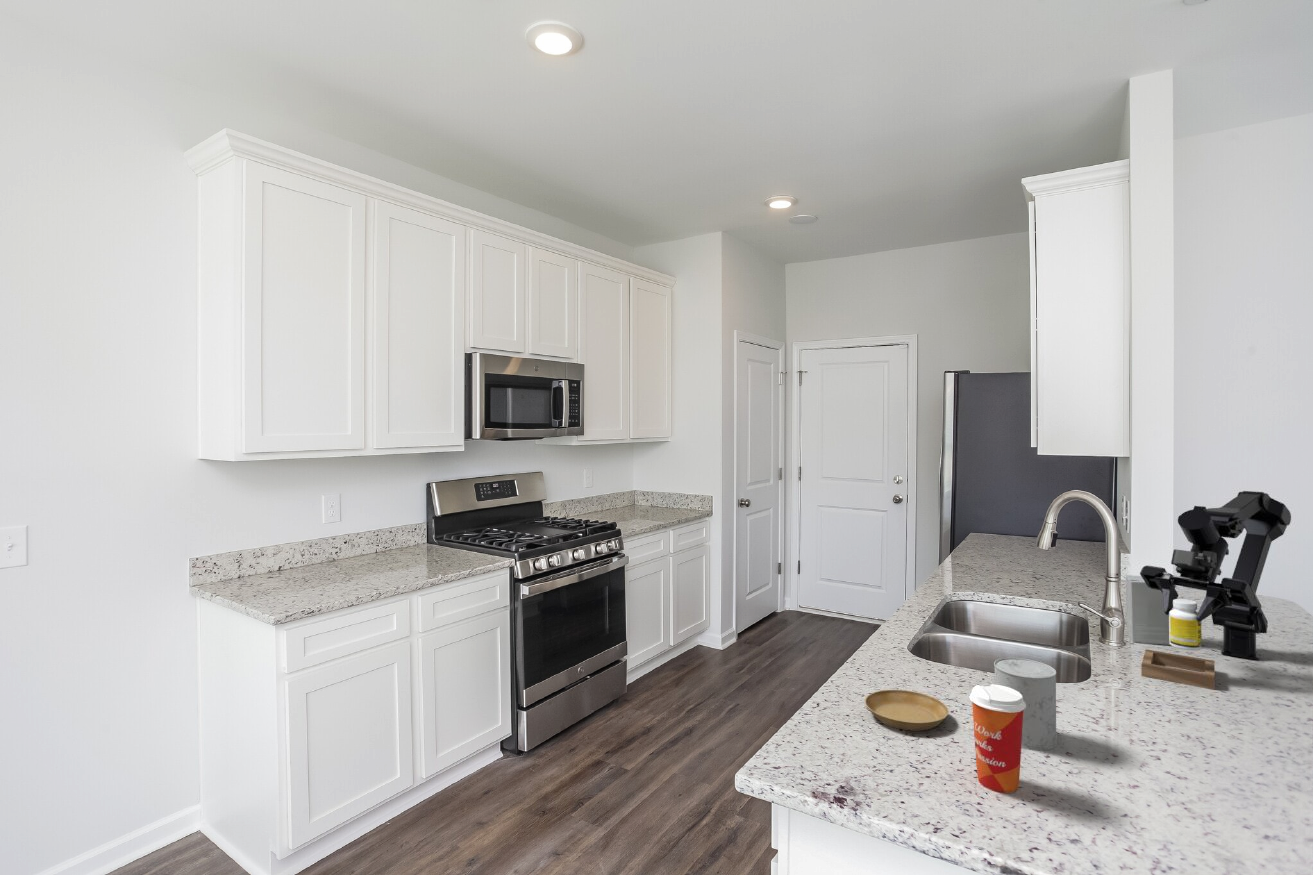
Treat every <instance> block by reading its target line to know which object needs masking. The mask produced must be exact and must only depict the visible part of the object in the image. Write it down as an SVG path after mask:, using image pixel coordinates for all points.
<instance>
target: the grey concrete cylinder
mask: <svg viewBox="0 0 1313 875" xmlns="http://www.w3.org/2000/svg"><path fill="white" fill-rule="evenodd" d="M993 665H994V685H1001V686H1005V687H1009V688H1012V689H1014V690H1016V691H1018V692H1019V693H1020V694H1021V695H1022V697H1023V701H1024V702H1025V704H1026V708H1025V709H1024V710H1023V727H1022V744H1021V749H1025V750H1030V751H1031V750H1032V751H1048V750H1052V749H1053V748H1055V747H1057V743H1058V742H1057V670H1056V669H1055V668H1054V667H1052V666H1051V665H1049V664H1046V663H1044V662H1040V661H1037V660H1034V659H1028V658H1021V657H1003V658H999V659H996V660H995V661H994V662H993Z"/></svg>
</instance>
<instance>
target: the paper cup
mask: <svg viewBox="0 0 1313 875" xmlns="http://www.w3.org/2000/svg"><path fill="white" fill-rule="evenodd" d="M969 699H970V701H971V705H972V706H971V707H972V708H971V709H972V718H973V720H972V721H973V734H974V736H973V738H974V748H975V761H976V765H975V766H976V774H977V780H978V783H979V784H980V785H981V786H983V787H985V788H986V789H988V790H991V791H994V792H996V793H997V792H998V793H1004V794H1009V793H1014V792H1016V791H1018V789H1019V785H1020V773H1021V772H1020V771H1021V759H1022V758H1021V757H1022V748H1021V744H1022V727H1023V710H1024V709H1025V708H1026V704H1025V702H1024V701H1023V697H1022V695H1021V694H1020V693H1019V692H1018V691H1016V690H1014V689H1012V688H1009V687H1005V686H1001V685H995V683H994V684H993V683H992V684H991V685H990V684H981V685H979V684H977V685H975V686H973V688H972V690H971V692H970V693H969Z"/></svg>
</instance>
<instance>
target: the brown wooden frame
mask: <svg viewBox="0 0 1313 875" xmlns="http://www.w3.org/2000/svg"><path fill="white" fill-rule="evenodd" d="M1215 665H1216V664H1215V660H1213V659H1207V658H1201V657H1200V658H1199V657H1194V656H1188V655H1183V654H1177V653H1171V652H1165V651H1159V650H1153V649H1148V648H1146V649H1145V651H1144V653H1143V658H1142V661H1141V667H1140V668H1141V670H1140V672H1141V674H1140V675H1141V677H1145V678H1151V679H1155V680H1161V681H1166V682H1172V683H1176V684H1177V683H1178V684H1182V683H1183V685H1188V686H1192V685H1194V686H1193V687H1197V686H1199V687H1198V688H1202V689H1203V688H1204V689H1209V690H1212V691H1213V690H1215V689H1216V688H1215V687H1216V685H1215V681H1216V679H1215V678H1216V677H1215ZM1194 670H1195V671H1194Z"/></svg>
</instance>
